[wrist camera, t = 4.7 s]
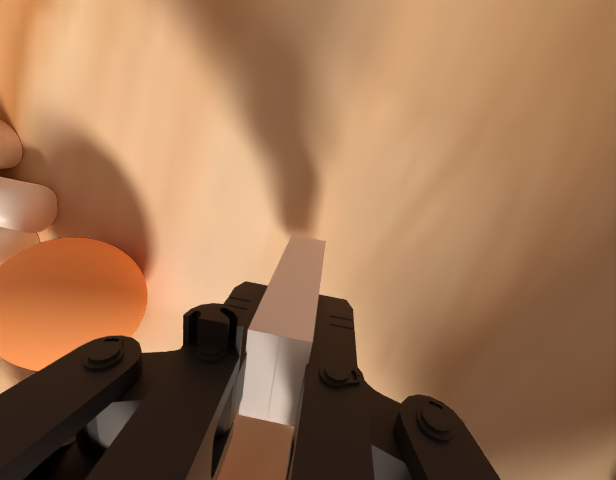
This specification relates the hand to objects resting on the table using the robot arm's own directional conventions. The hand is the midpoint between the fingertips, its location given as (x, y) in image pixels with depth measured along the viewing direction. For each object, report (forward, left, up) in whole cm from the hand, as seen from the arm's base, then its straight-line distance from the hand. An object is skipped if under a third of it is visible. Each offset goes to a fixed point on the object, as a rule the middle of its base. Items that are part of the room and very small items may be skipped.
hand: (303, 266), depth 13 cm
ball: (+6, +9, +1) cm, 11 cm away
